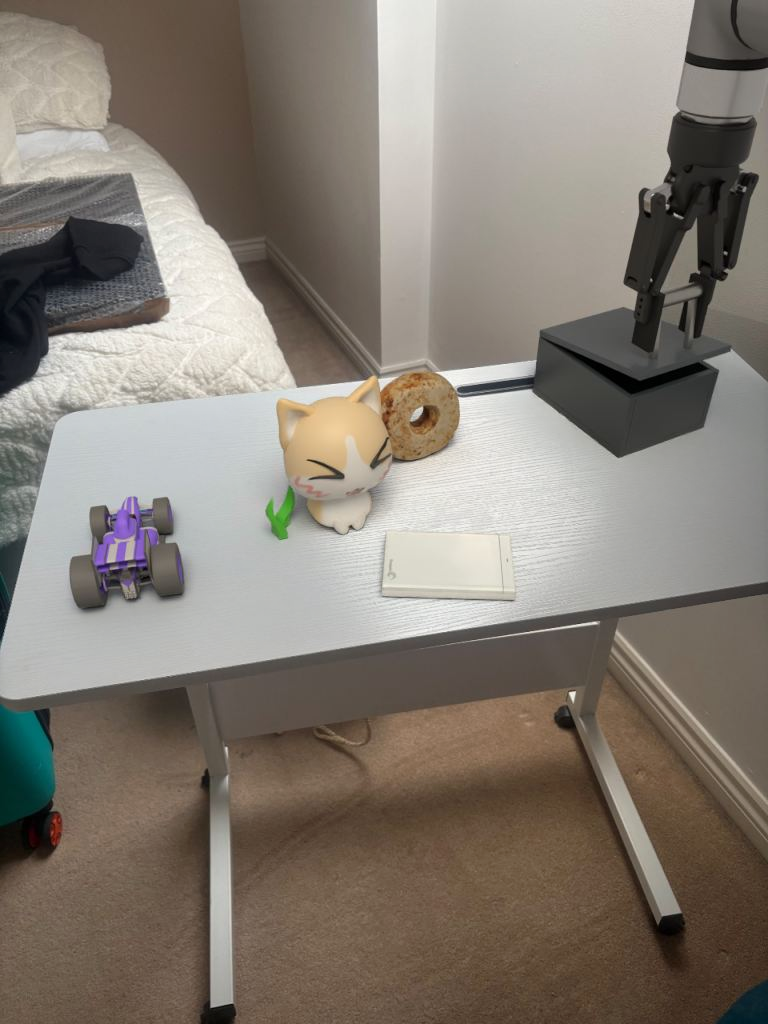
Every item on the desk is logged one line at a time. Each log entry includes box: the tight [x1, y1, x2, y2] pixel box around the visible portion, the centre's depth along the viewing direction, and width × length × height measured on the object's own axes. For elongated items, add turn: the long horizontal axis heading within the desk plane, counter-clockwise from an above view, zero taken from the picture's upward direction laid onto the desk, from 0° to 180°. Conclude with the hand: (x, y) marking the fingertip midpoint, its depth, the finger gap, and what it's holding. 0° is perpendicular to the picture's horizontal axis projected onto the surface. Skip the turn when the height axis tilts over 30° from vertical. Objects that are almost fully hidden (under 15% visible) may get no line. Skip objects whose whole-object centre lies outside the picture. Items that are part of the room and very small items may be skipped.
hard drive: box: [381, 530, 517, 601], centre depth 80 cm, size 2×8×12 cm
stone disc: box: [380, 370, 461, 461], centre depth 93 cm, size 10×4×10 cm, turn 116°
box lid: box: [539, 281, 732, 381], centre depth 95 cm, size 18×13×8 cm
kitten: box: [264, 375, 393, 540], centre depth 82 cm, size 15×10×15 cm
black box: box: [532, 336, 720, 459], centre depth 100 cm, size 17×13×8 cm
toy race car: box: [68, 495, 185, 609], centre depth 80 cm, size 10×15×6 cm, turn 12°
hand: (666, 339), depth 91 cm, fingers closed on box lid, 6 cm apart
